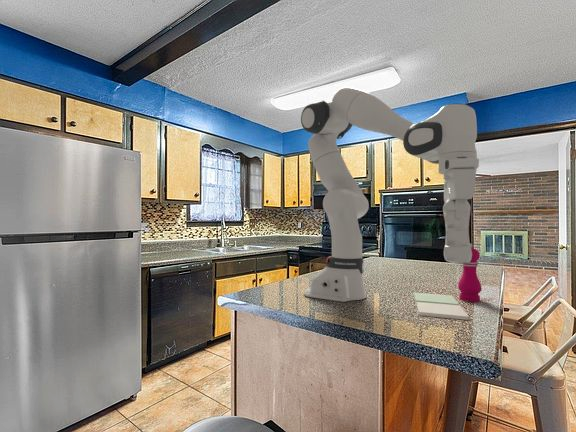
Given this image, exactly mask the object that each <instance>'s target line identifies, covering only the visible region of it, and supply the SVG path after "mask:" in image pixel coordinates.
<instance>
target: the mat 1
mask: <svg viewBox="0 0 576 432" xmlns="http://www.w3.org/2000/svg"><path fill="white" fill-rule="evenodd" d="M413 297H414V303H416V302H425V303H436V304H448V305H459V306H460V304H459V302H458V301H457V300H456V298H455V296H454V295H451V294H450V295H449V294H438V293H425V292H413Z"/></svg>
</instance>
